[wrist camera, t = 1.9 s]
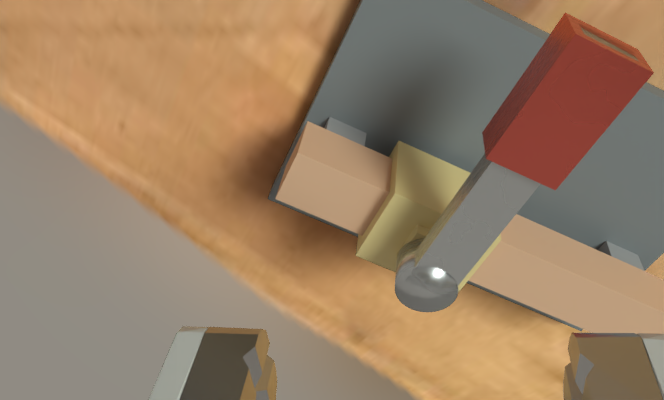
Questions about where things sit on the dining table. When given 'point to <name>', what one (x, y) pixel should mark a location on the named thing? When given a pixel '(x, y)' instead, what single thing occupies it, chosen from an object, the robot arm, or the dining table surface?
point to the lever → (524, 153)
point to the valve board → (464, 154)
